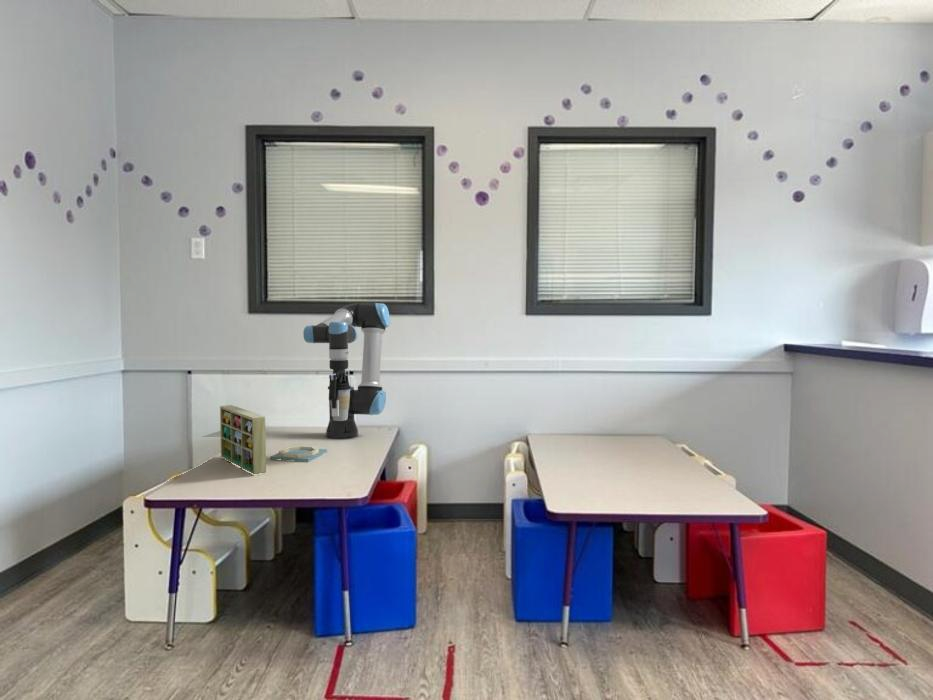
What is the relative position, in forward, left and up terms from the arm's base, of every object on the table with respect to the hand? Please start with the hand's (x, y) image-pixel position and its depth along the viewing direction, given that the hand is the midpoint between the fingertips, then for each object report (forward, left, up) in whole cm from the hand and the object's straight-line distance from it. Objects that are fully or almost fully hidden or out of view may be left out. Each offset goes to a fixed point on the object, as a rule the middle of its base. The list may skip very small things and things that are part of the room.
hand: (339, 414), depth 245 cm
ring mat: (+3, -17, -18) cm, 25 cm away
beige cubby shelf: (+22, -31, -18) cm, 42 cm away
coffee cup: (0, 0, -3) cm, 3 cm away
